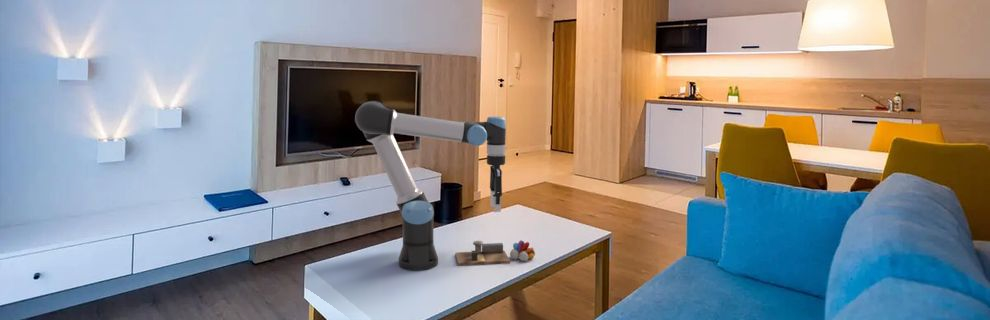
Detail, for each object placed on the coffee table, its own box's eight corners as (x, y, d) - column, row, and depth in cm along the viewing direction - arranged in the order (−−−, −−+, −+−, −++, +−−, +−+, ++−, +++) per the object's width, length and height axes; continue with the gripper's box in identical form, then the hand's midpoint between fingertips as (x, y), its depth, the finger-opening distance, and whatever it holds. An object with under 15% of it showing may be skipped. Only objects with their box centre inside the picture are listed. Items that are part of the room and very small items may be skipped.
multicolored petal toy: (528, 263, 206) (528, 245, 205) (506, 259, 211) (506, 241, 210) (538, 257, 213) (538, 240, 212) (517, 253, 219) (517, 236, 217)
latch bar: (482, 252, 214) (482, 245, 214) (481, 250, 217) (481, 243, 216) (502, 251, 216) (503, 244, 215) (501, 250, 218) (502, 242, 218)
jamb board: (458, 265, 203) (458, 252, 202) (455, 254, 216) (455, 241, 215) (509, 263, 206) (510, 249, 206) (503, 252, 219) (504, 239, 218)
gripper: (510, 158, 207) (509, 215, 211) (500, 151, 228) (500, 202, 231) (490, 158, 206) (490, 215, 209) (483, 151, 227) (482, 203, 230)
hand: (495, 208), depth 220 cm, fingers open, 8 cm apart
